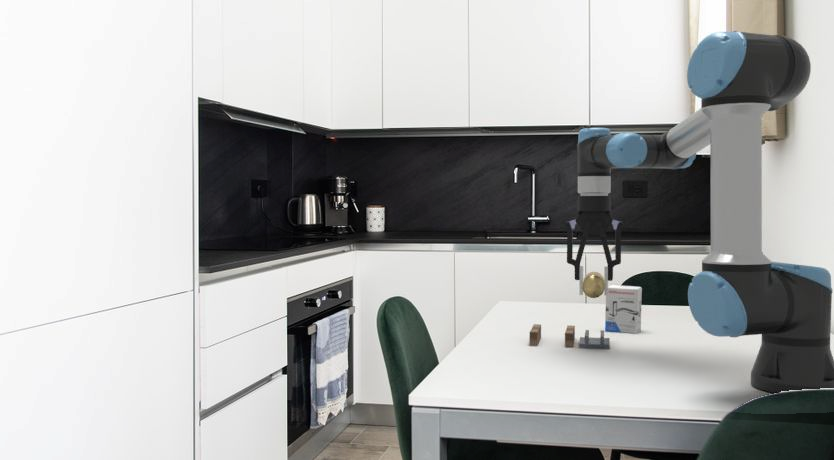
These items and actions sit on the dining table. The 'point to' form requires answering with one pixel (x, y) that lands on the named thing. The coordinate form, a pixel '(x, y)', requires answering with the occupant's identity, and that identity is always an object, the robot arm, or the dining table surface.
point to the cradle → (594, 341)
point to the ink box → (623, 309)
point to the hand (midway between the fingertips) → (593, 294)
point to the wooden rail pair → (536, 335)
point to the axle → (593, 285)
